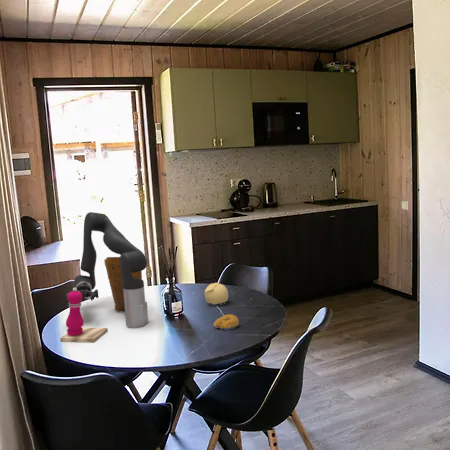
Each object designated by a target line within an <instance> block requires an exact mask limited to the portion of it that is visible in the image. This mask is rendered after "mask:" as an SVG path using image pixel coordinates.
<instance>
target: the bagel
mask: <svg viewBox="0 0 450 450" xmlns="http://www.w3.org/2000/svg"><path fill="white" fill-rule="evenodd" d="M239 321H240V320H239V318H238V316H236V315H235V314H231V313H230V314H228V313H227V314H224V315H222V316H221V317H219V318H217V319H216V320H215V321H214V323H213V327H214V328H215V327H220V328H230V327H235V326H237V327H238V325H239Z"/></svg>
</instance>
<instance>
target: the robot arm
mask: <svg viewBox="0 0 450 450" xmlns="http://www.w3.org/2000/svg"><path fill="white" fill-rule="evenodd" d="M93 232H99V233H100V232H101V233H103V236H102V242H103V243H104V245H105V246H106V247H107V249H109V251H111V252H112V253H115V254H117V255H120V256H119V257H120V269H121V277H122V283H123V291H124V305H125V312H124V317H125V327H128V328H132V329H133V328H140V327H141V328H142V327H145V326H146V325H147V324H148V323H149V314H148V310H149V309H148V302H147V301H146V294H145V282H144V279H143V278H142V279H138V278H134V277H132V273H133V272H138V271H144V270H145V269H146V268H147V266H148V262H147V261H148V260H147V258H146V256H145V253H143V252H142V250H140V249H139V248H138V247H137V246H135V244H133V243H132V242H130V241H129V239H127V238H126V236H124V234H123V233H122V232H121V231H119V230H118V228H117V227H116V226H115V225H114V224H113V223H112V221H111V219H110V218H109V217H108V215H106V214H104V213H101V212H100V213H99V212H92V211H89V212H87V213H86V215H85V217H84V221H83V238H82V239H83V241H82V242H83V246H82V255H81V261H80V262H81V263H80V270H81V271H83V272H85V273H88V275H82V274H78V275H77V276H75V278H74V279H73V286H74V288H77V291H79V292H81V294H82V300H81V301H82V302H83V301H87V300H90V301H93V300H95V298H96V299H98V298H99V289H95V287H96V285H97V284H96V274H95V273H96V272H95V270H96V269H95V268H96V263H97V254H98V253H97V251H96V248H95V245H94V243H93V238H92V233H93ZM93 290H94V291H93ZM69 293H70V292H66V294H65V302H69V301H68V299H67V296H68V294H69Z"/></svg>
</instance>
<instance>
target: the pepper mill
mask: <svg viewBox="0 0 450 450" xmlns="http://www.w3.org/2000/svg"><path fill="white" fill-rule="evenodd" d="M67 299H68V301H67V302H68V307H69V313H68V315H67V319H66V320H65V321H66V322H65V325H66V328H67V329H66V334H68V335H71V336H77V335H80V334H82V333H83V328H84V327H83V326H84V324H85V322H84V317H83V315H82V313H81V306H82V302H81V301H82V294H81V292H79V291H77V288H75V287H73V288H72V290H71V291H70V292H69V294H68V296H67Z"/></svg>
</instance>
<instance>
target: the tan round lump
mask: <svg viewBox="0 0 450 450" xmlns="http://www.w3.org/2000/svg"><path fill="white" fill-rule="evenodd" d="M204 298H205V301H206V303H208V304H209V303H212V304H218V303H223V302H226V301H227V302H228V299H229V291H228V288H227V287H226V286H225V285H224V284H223V283H222V284H221V283H218V282H213V283H210V284H208V286H207V287H206V288H205V290H204ZM227 302H226V303H227Z"/></svg>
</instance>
